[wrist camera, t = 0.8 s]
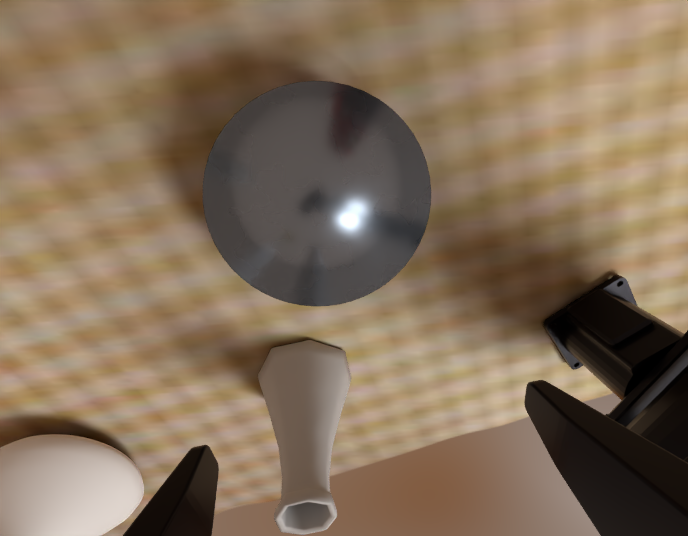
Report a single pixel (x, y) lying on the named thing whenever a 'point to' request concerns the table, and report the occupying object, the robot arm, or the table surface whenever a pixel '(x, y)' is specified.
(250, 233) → the biscuit tin
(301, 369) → the flask
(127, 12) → the table surface
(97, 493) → the flower in vase
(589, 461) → the robot arm
